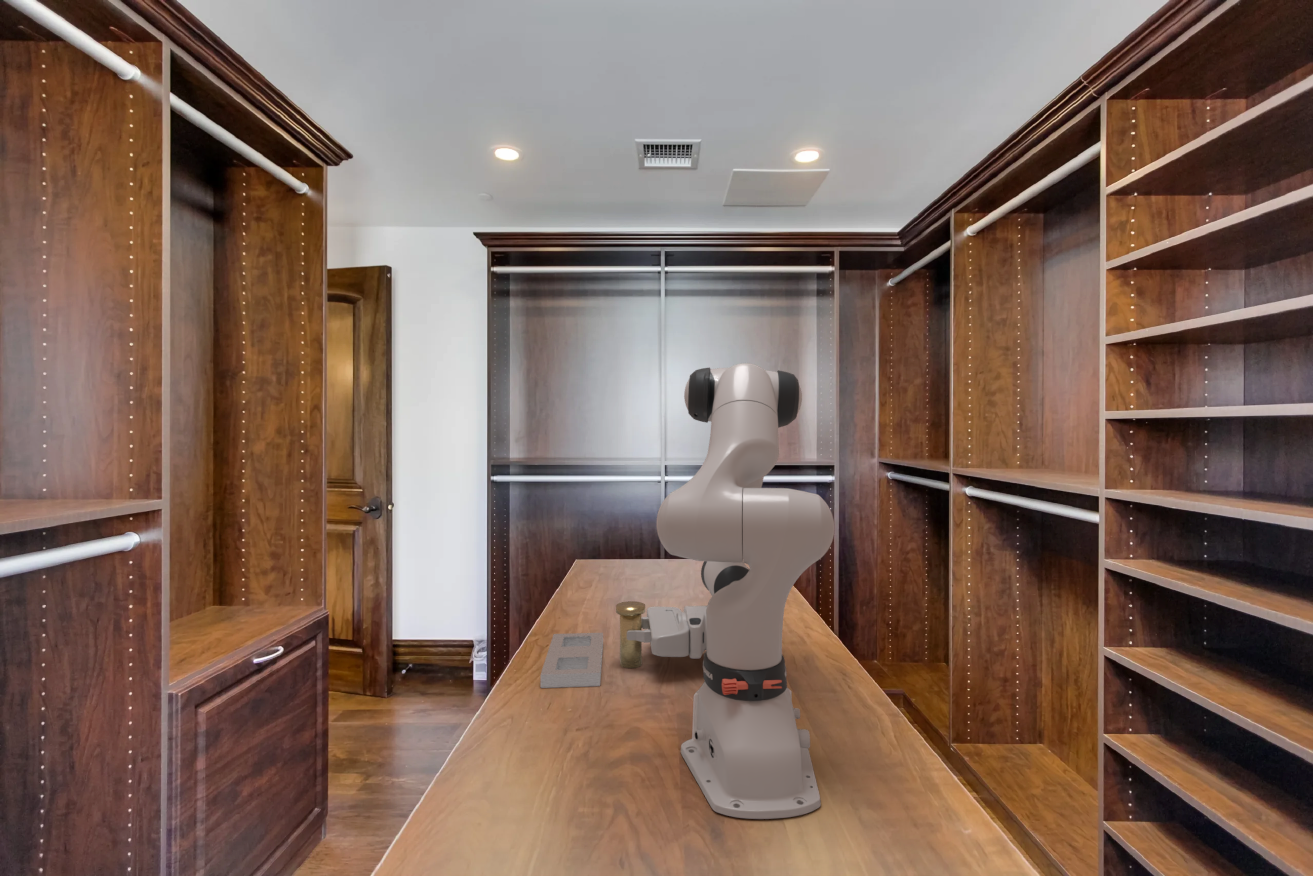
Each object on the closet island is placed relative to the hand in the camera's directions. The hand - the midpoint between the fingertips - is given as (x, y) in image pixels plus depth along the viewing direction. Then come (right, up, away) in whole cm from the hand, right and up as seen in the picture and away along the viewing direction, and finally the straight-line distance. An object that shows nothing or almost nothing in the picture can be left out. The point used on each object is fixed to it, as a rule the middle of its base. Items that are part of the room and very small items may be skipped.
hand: (626, 629), depth 118 cm
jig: (-11, -7, 0) cm, 13 cm away
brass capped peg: (+1, -7, 0) cm, 7 cm away
